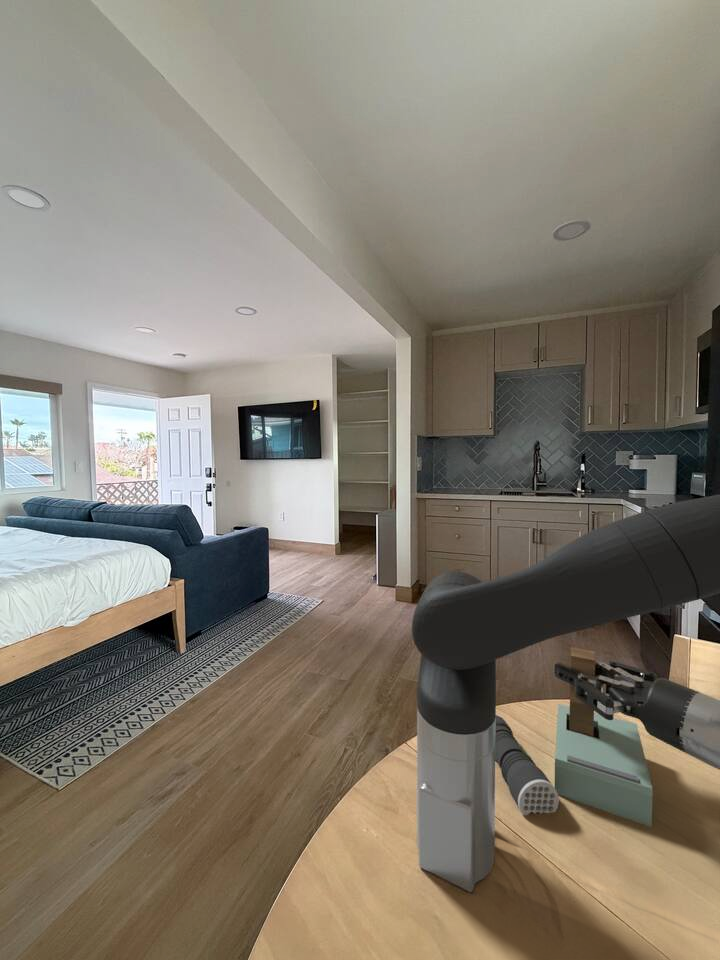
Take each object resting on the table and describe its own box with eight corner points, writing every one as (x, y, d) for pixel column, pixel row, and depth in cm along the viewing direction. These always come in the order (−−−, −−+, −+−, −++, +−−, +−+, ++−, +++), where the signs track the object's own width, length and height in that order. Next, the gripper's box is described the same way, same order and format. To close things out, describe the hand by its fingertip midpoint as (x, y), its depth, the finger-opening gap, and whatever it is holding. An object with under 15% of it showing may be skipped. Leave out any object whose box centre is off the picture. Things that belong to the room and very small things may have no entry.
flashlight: (474, 742, 67) (474, 711, 67) (505, 739, 67) (505, 708, 67) (519, 824, 52) (519, 784, 51) (558, 820, 52) (559, 780, 52)
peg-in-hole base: (651, 834, 50) (652, 786, 50) (554, 800, 55) (555, 756, 55) (635, 760, 62) (636, 721, 62) (557, 738, 67) (558, 702, 67)
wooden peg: (592, 751, 60) (595, 660, 59) (568, 744, 61) (570, 655, 60) (592, 738, 62) (594, 651, 62) (569, 732, 64) (571, 647, 63)
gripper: (720, 678, 53) (589, 631, 67) (674, 714, 45) (538, 653, 60) (718, 733, 53) (588, 674, 68) (672, 777, 45) (537, 701, 60)
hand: (565, 664), depth 64 cm, fingers closed on wooden peg, 4 cm apart
